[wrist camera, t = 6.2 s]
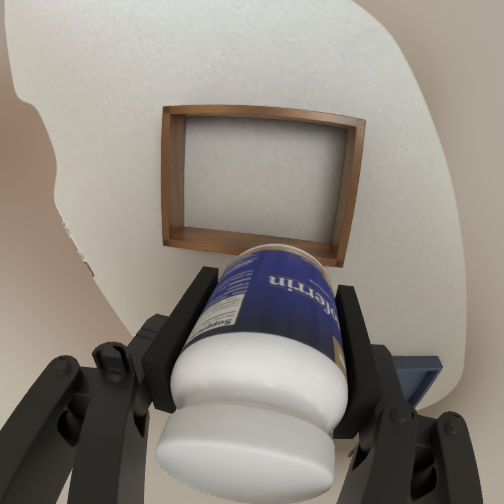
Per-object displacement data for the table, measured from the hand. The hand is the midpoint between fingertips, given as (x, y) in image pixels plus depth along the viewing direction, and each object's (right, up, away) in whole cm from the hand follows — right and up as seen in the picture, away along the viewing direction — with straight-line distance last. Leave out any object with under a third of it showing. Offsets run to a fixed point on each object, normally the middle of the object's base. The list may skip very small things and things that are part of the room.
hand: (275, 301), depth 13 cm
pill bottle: (0, 0, +1) cm, 1 cm away
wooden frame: (0, +10, +14) cm, 17 cm away
